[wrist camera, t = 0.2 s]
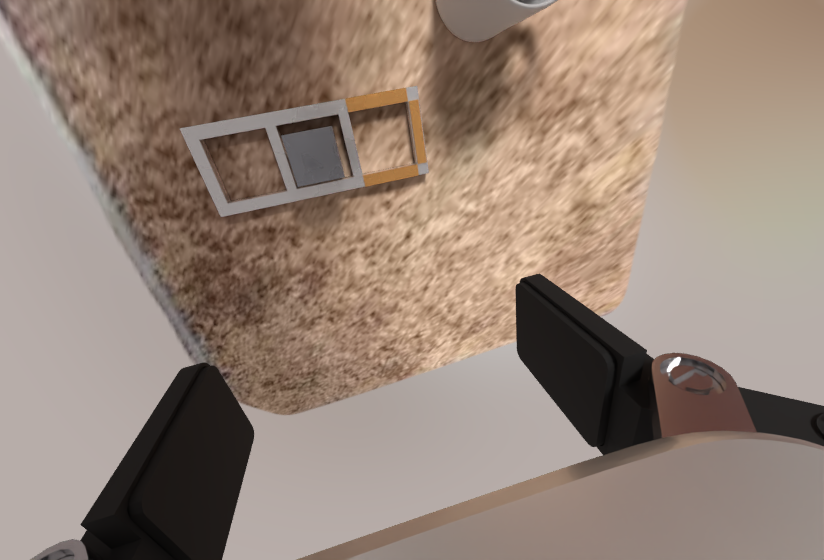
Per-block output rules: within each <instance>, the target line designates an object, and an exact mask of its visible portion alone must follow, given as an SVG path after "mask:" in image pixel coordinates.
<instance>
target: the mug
mask: <svg viewBox="0 0 824 560" xmlns="http://www.w3.org/2000/svg"><path fill="white" fill-rule="evenodd" d="M435 1H436V5H437V9H438V12H439V14H440V17H441V19H442V21H443V23H444V24H445V26H446V27H447V28H448V29H449V31H450V32H451V33H453V34H454V35H455V36H456V37H458V38H460V39H462V40H464V41H468V42H482V41H485V40H488V39H490V38H492V37H494V36H496V35H497V34H499V33H500V32H502V31H504V30H506V29H508V28H509V27H511V26H513V25H515V24H517V23H519V22H521V21H523V20H524V19H526V18H528V17H530V16H532V15H534V14H536V13H537V12H539V11H541V10H543V9H545V8H547V7H548V6H550V5H552V4H553V3H555V2H556V1H557V0H435Z"/></svg>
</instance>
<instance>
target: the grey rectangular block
mask: <svg viewBox="0 0 824 560" xmlns="http://www.w3.org/2000/svg"><path fill="white" fill-rule="evenodd" d="M281 137H282V140H283V143H284V146H285V149H286V152H287V155H288V158H289V161H290V164H291V167H292V170H293V173H294V176H295V179H296V182H297V185H298V187H300V186H305V185H310V184H314V183H319V182H324V181H329V180H334V179H338V178H343V177H345V176H344V171H343V166H342V162H341V159H340V155H339V151H338V147H337V143H336V139H335V135H334V131H333V127H332V126H327V127H322V128H316V129H311V130H306V131H301V132H295V133H290V134H286V135H282V136H281Z"/></svg>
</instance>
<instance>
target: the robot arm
mask: <svg viewBox="0 0 824 560" xmlns="http://www.w3.org/2000/svg"><path fill="white" fill-rule="evenodd" d="M516 332H517V352H518V355H519V357H520V359H521V360H522V361H523V363H524V364H525V365H526V367H527V368H528V369H529V370H530V372H531V373H532V374H533V375H534V377H535V378H536V379H537V380H538V382H539V383H540V384H541V385H542V387H543V388H544V389H545V390H546V392H547V393H548V394H549V395H550V397H551V398H552V399H553V400H554V402H555V403H556V404H557V406H558V407H559V408H560V409H561V411H562V412H563V413H564V414H565V415H566V417H567V418H568V419H569V420H570V422H571V423H572V424H573V426H574V427H575V428H576V429H577V431H578V432H579V433H580V434H581V435H582V437H583V438H584V439H585V441H586V442H587V443H588V444H589V445H591V446H592V447H597V448H598V449H599V450H600V452H601V453H602V454H603V456H599V457H596V458H593V459H590V460H587V461H584V462H581V463H577V464H574V465H571V466H568V467H566V468H562V469H559V470H556V471H553V472H551V473H548V474H545V475H542V476H539V477H536V478H533V479H530V480H527V481H524V482H521V483H518V484H515V485H512V486H509V487H506V488H503V489H500V490H497V491H494V492H491V493H488V494H485V495H483V496H480V497H476V498H474V499H471V500H468V501H465V502H462V503H459V504H456V505H453V506H450V507H447V508H444V509H442V510H439V511H436V512H433V513H430V514H427V515H424V516H421V517H418V518H415V519H412V520H409V521H407V522H404V523H401V524H398V525H395V526H392V527H389V528H386V529H384V530H380V531H378V532H375V533H372V534H369V535H366V536H363V537H360V538H358V539H354V540H352V541H349V542H346V543H343V544H340V545H337V546H334V547H332V548H329V549H325V550H323V551H320V552H317V553H314V554H311V555H308V556H305V557H303V558H300V559H297V560H824V406H821V405H817V404H812V403H808V402H803V401H799V400H794V399H789V398H785V397H781V396H776V395H772V394H768V393H763V392H759V391H754V390H750V389H745V388H740V387H737V384H736V382H735V381H734V379H733V378H732V376H731V375H730V374H729V373H728V372H727V371H725V370H724V369H723V368H722V367H720V366H718V365H716V364H715V363H713V362H711V361H709V360H706V359H703V358H701V357H698V356H694V355H689V354H684V353H668V354H663V355H660V356H658V357H656V358H655V359H653V358H652V357H650V356H649V355H647V354H646V352H647V350H646V349H644V348H643V347H642V346H640V345H639V344H637V343H636V342H634V341H633V340H632V339H630V338H629V337H628V336H626V335H625V334H623V333H622V332H621V331H619V330H618V329H617V328H615V327H614V326H612V325H611V324H609V323H608V322H606V321H605V320H604V319H603V318H601V317H600V316H598V315H597V314H596V313H594V312H593V311H591V310H590V309H589V308H587V307H586V306H584V305H583V304H582V303H580V302H579V301H577V300H576V299H575V298H573V297H572V296H570V295H569V294H568V293H566V292H565V291H563V290H562V289H561V288H559V287H558V286H556V285H555V284H554V283H552V282H551V281H549V280H548V279H547V278H545V277H544V276H542V275H541V274H536V275H532V276H528V277H524V278H522V279H521V280H520V283H519V284H517V285H516ZM253 439H254V430H253V427H252V425H251V423H250V421H249V420H248V418H247V416H246V415H245V413H244V412H243V410H242V408H241V407H240V405H239V403H238V402H237V400H236V398H235V397H234V395H233V393H232V392H231V390H230V388H229V387H228V385H227V384H226V382H225V380H224V379H223V377H222V375H221V374H220V372H219V370H218V369H217V368H216V367H215V366H210V365H209V364H207V363H200V364H197V365H193V366H189V367H185V368H183V369H181V370H180V371H179V373H178V374H177V376H176V377H175V379H174V380H173V382H172V383H171V385H170V387H169V388H168V390H167V391H166V393H165V394H164V396H163V397H162V399H161V400H160V402H159V404H158V405H157V407H156V408H155V410H154V411H153V413H152V415H151V416H150V418H149V419H148V421H147V422H146V424H145V425H144V427H143V429H142V430H141V432H140V433H139V435H138V436H137V438H136V439H135V441H134V442H133V444H132V446H131V447H130V449H129V450H128V452H127V453H126V455H125V456H124V458H123V460H122V461H121V463H120V464H119V466H118V467H117V469H116V470H115V472H114V474H113V475H112V477H111V478H110V480H109V481H108V483H107V484H106V486H105V488H104V489H103V491H102V492H101V494H100V495H99V497H98V499H97V500H96V502H95V503H94V505H93V506H92V508H91V509H90V511H89V512H88V514H87V516H86V517H85V519H84V520H83V522H82V523H81V526H83V527H84V528H85V529H86V530H87V531H86V532H85V534H84V536H83V537H82V539H81V540H80V541H79V540H74V539H72V540H68V541H63V542H60V543H58V544H56V545H54V546H52V547H49V548H47V549H46V550H44V551H43V552H41V553H40V554H38V555H37V556H35V557H34V558H32V559H31V560H222V557H223V553H224V550H225V546H226V542H227V538H228V535H229V531H230V527H231V523H232V519H233V515H234V512H235V508H236V504H237V500H238V497H239V493H240V489H241V485H242V482H243V477H244V474H245V470H246V466H247V463H248V459H249V455H250V451H251V447H252V444H253Z"/></svg>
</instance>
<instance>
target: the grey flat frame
mask: <svg viewBox="0 0 824 560" xmlns="http://www.w3.org/2000/svg"><path fill="white" fill-rule="evenodd" d="M403 102H406V109H407V116H408V122H409V129H410V136H411V142H412V149H413V155H414V162H415V163H412V164H407V165H402V166H397V167H392V168H388V169H383V170H378V171H373V172H368V173H364V174H362V170H361V166H360V161H359V157H358V153H357V148H356V144H355V140H354V135H353V131H352V127H351V122H350V118H349V114H348V113H349V112H354V111H359V110H365V109H370V108H376V107H381V106H386V105H392V104H397V103H403ZM332 115H338V116H339V120H340V124H341V128H342V132H343V136H344V140H345V144H346V148H347V152H348V157H349V161H350V165H351V169H352V173H353V176H349V177H344V178H340V179H335V180H330V181H325V182H320V183H316V184H311V185H306V186H301V187H298V186H297V183H296V180H295V177H294V174H293V171H292V168H291V165H290V162H289V159H288V156H287V153H286V150H285V147H284V144H283V141H282V138H281V135H280V132H279V128H278V125H284V124H289V123H294V122H300V121H305V120H311V119H316V118H321V117H327V116H332ZM262 128H266V131H267V134H268V137H269V140H270V143H271V146H272V148H273V151H274V154H275V157H276V160H277V163H278V166H279V169H280V171H281V174H282V177H283V180H284V183H285V186H286V189H287V190H282V191H277V192H272V193H267V194H263V195H258V196H253V197H248V198H243V199H239V200H234V201H231V200H230V198H229V196H228V193H227V191H226V189H225V187H224V184H223V182H222V180H221V178H220V175H219V173H218V171H217V168H216V166H215V164H214V162H213V159H212V157H211V155H210V153H209V150H208V148H207V146H206V143H205V141H204V139H208V138H213V137H218V136H224V135H229V134H235V133H240V132H246V131H251V130H256V129H262ZM179 129H180V131H181V133H182V135H183V137H184V139H185V141H186V144H187V146H188V148H189V150H190V152H191V154H192V156H193V159H194V161H195V163H196V165H197V167H198V169H199V171H200V173H201V176H202V178H203V180H204V182H205V184H206V186H207V188H208V191H209V193H210V195H211V197H212V199H213V201H214V203H215V206H216V208H217V210H218V212H219V214H220V216H221V217H224V216H229V215H233V214H238V213H243V212H248V211H252V210H257V209H262V208H266V207H271V206H276V205H280V204H285V203H290V202H295V201H299V200H304V199H309V198H313V197H318V196H323V195H327V194H332V193H337V192H341V191H346V190H351V189H356V188H360V187H367V186H371V185H376V184H381V183H385V182H390V181H395V180H399V179H404V178H409V177H414V176H418V175H421V174H426V173H429V171H428V164H427V156H426V149H425V141H424V134H423V126H422V119H421V111H420V104H419V96H418V88H417V86H414V87H408V88H402V89H396V90H391V91H385V92H379V93H374V94H368V95H363V96H357V97H352V98H346V99H341V100H335V101H330V102H324V103H319V104H313V105H308V106H302V107H296V108H291V109H285V110H280V111H274V112H269V113H263V114H257V115H252V116H246V117H241V118H235V119H230V120H224V121H218V122H213V123H207V124H202V125H196V126H190V127H185V128H179Z"/></svg>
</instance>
